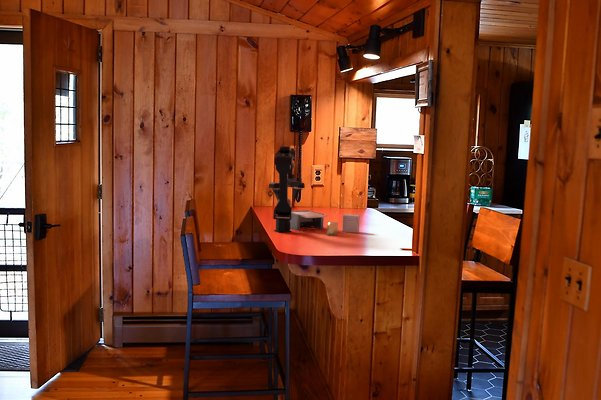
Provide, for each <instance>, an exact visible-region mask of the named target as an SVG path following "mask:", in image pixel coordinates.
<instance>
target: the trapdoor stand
mask: <svg viewBox="0 0 601 400" xmlns="http://www.w3.org/2000/svg"><path fill="white" fill-rule="evenodd" d="M292 212H315V213H319V214H323V215H325V214H324V213H321V212H317V211H313V210H306V209H305V210H292ZM289 216H290V215H289ZM289 218H290V217H289ZM324 218H325V217H316V218H313V220H312V221H308V222H300V215H299V214H295V213H292V219H291V220H290V230H294V231H300V227H303V226H304V227H305V226H308V227H311V228H315V229H317V230H318V229H319V230H323V229H324V220H325V219H324Z"/></svg>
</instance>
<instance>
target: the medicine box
mask: <svg viewBox="0 0 601 400" xmlns="http://www.w3.org/2000/svg"><path fill="white" fill-rule="evenodd" d="M341 229H342V230H341V231H342V233H353V234H358V233H359V232H360V214H349V213H348V214H346V213H345V214H343V215H342V228H341Z"/></svg>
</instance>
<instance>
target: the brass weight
mask: <svg viewBox="0 0 601 400" xmlns="http://www.w3.org/2000/svg"><path fill="white" fill-rule="evenodd" d="M338 227H339V223H338V222H336V221H328V222H327V227H326V235H327V236H331V237H335V236H338Z"/></svg>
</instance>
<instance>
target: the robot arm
mask: <svg viewBox="0 0 601 400" xmlns="http://www.w3.org/2000/svg"><path fill="white" fill-rule="evenodd" d="M296 157H297V151H296V150H295V148H294V147H291V146H288V145H282V146H281V145H280V146H279V150H278V151H276V152H275V154H274V161H273V162H274V165H275V170H276V172H277V173H278V182H269V183H268V188H269V189H270V190H272V192H273V193H274V196H275V199H276V200H277V202H276V206H274V208H273V215H272V219H273V220H275V229H273V231H274V232H277V233H292V230H291V229H290V220H291V219H292V211H293V206H292V202H296V200H297V198H298V195H299V193H300V191H302V190H303V189H305V188H306V187H305V186H306V184H305V182H302V177H297V178H296V177H295V174H294V169H295V168H296V167H295V166H296V165H295V163H294V162H295V161H297V158H296ZM288 188H292V201H291V199H289V192H288V191H289V189H288ZM289 215H290V216H289ZM289 217H290V218H289Z"/></svg>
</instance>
